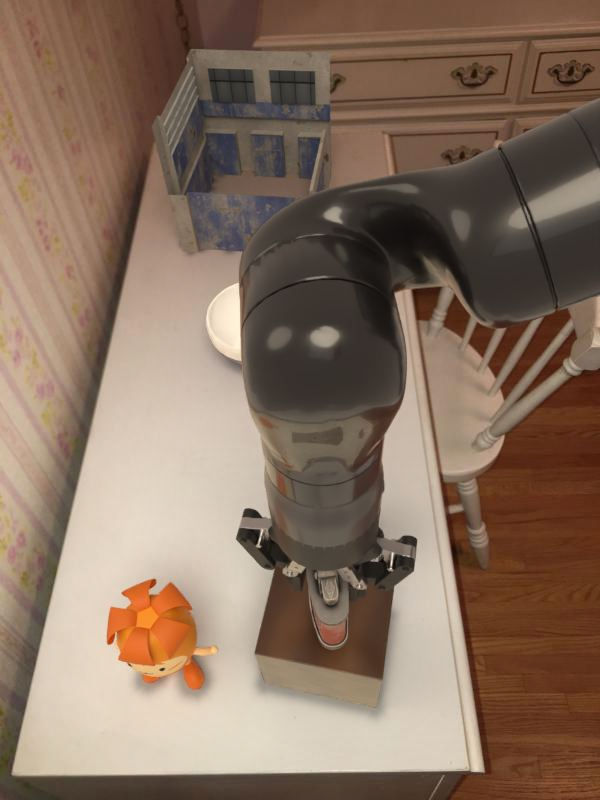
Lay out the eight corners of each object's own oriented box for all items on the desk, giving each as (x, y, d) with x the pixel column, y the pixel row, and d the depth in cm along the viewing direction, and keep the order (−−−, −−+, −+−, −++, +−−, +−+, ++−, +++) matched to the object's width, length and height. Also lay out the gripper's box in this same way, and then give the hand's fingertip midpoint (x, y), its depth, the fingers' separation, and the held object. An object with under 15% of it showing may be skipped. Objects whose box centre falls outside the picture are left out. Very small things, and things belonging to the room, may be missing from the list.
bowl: (326, 336, 99) (326, 301, 93) (271, 401, 92) (266, 367, 86) (251, 301, 104) (245, 265, 98) (193, 359, 97) (184, 325, 91)
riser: (387, 614, 73) (395, 575, 64) (375, 707, 68) (382, 680, 58) (285, 594, 75) (278, 553, 66) (265, 684, 70) (254, 653, 60)
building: (331, 175, 123) (330, 50, 104) (314, 259, 109) (310, 133, 91) (213, 169, 126) (191, 46, 107) (182, 251, 112) (151, 126, 93)
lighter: (353, 646, 58) (356, 610, 50) (316, 652, 58) (312, 616, 50) (338, 561, 62) (338, 515, 54) (304, 566, 62) (298, 521, 54)
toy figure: (116, 688, 70) (70, 649, 58) (138, 615, 75) (100, 565, 63) (222, 704, 69) (198, 668, 56) (237, 629, 73) (218, 581, 61)
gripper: (203, 525, 41) (237, 612, 55) (429, 564, 39) (405, 645, 53) (234, 428, 45) (258, 532, 59) (439, 459, 43) (414, 559, 57)
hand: (327, 585), depth 56 cm, fingers closed on lighter, 4 cm apart
